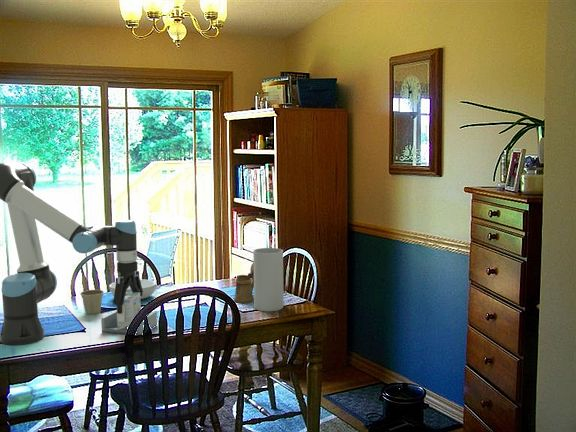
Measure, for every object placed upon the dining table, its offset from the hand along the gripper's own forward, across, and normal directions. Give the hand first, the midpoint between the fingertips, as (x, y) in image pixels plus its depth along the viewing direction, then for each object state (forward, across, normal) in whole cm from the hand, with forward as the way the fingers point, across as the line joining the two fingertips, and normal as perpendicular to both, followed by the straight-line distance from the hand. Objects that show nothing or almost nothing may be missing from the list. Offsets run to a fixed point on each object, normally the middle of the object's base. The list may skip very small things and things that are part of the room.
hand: (129, 317), depth 255 cm
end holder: (+5, 0, 0) cm, 5 cm away
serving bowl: (+5, +43, +22) cm, 49 cm away
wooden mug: (+5, +53, -30) cm, 61 cm away
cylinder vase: (+5, +42, -43) cm, 60 cm away
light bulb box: (+2, 0, 0) cm, 2 cm away
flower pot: (+5, +18, +27) cm, 33 cm away
